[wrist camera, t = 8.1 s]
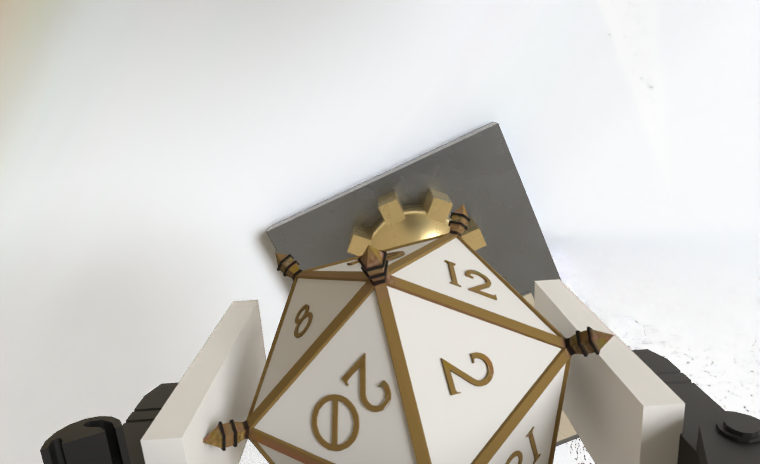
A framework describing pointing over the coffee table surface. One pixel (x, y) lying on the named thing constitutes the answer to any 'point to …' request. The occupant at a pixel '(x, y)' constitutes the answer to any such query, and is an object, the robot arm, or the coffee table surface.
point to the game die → (409, 364)
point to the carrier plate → (465, 185)
